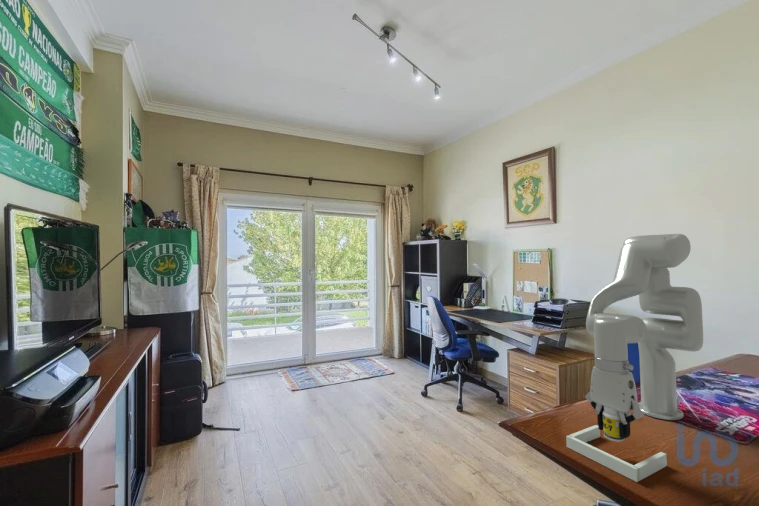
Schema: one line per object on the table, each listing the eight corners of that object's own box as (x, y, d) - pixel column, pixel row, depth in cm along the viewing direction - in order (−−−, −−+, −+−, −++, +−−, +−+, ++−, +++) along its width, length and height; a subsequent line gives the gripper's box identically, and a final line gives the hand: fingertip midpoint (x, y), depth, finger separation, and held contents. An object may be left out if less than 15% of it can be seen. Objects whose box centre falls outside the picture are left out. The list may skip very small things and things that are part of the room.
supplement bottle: (599, 433, 97) (598, 402, 97) (615, 432, 97) (614, 401, 97) (612, 442, 92) (610, 410, 92) (629, 441, 92) (627, 409, 92)
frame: (596, 434, 105) (595, 424, 105) (666, 465, 89) (666, 453, 89) (566, 446, 99) (566, 436, 99) (636, 482, 83) (636, 469, 83)
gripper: (655, 370, 89) (657, 443, 89) (589, 355, 104) (591, 417, 104) (638, 375, 86) (640, 451, 85) (572, 359, 101) (574, 423, 100)
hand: (613, 432), depth 94 cm, fingers closed on supplement bottle, 4 cm apart
